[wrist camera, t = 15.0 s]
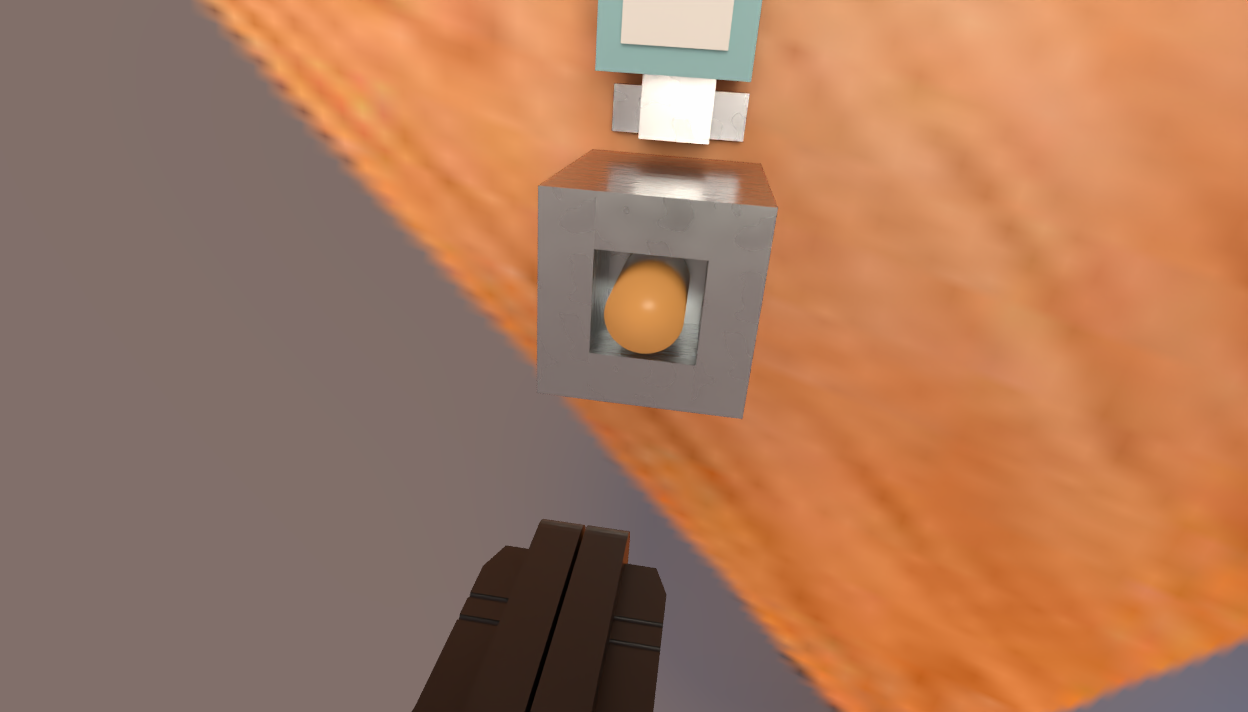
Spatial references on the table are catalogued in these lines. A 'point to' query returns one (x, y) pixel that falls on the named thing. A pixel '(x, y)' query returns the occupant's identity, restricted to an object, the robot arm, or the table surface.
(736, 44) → the carriage
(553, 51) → the table surface
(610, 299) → the button
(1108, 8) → the table surface
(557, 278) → the cabinet
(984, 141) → the table surface
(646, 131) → the rail
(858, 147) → the table surface
